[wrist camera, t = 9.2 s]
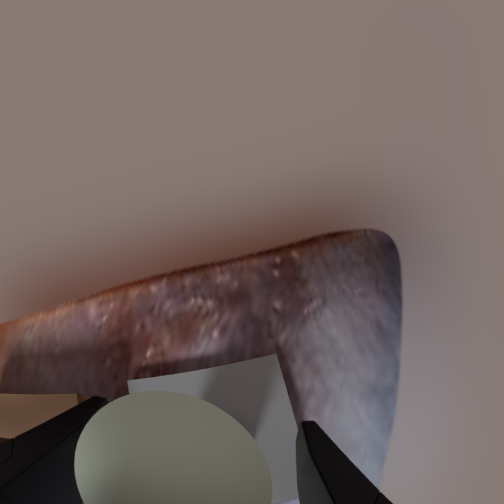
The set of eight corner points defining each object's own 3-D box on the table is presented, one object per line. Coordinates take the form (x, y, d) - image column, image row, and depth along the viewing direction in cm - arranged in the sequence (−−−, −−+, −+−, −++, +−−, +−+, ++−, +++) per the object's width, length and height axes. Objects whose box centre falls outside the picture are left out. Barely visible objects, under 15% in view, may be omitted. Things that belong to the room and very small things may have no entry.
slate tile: (312, 488, 13) (316, 492, 12) (163, 515, 12) (160, 519, 11) (274, 356, 18) (276, 353, 17) (132, 382, 16) (127, 380, 15)
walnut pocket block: (147, 551, 10) (127, 574, 7) (21, 528, 8) (-10, 535, 5) (107, 400, 15) (76, 393, 12) (-7, 400, 14) (-41, 390, 10)
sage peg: (246, 477, 13) (257, 577, 3) (180, 467, 13) (68, 526, 3) (254, 419, 15) (284, 407, 5) (190, 409, 15) (91, 368, 5)
